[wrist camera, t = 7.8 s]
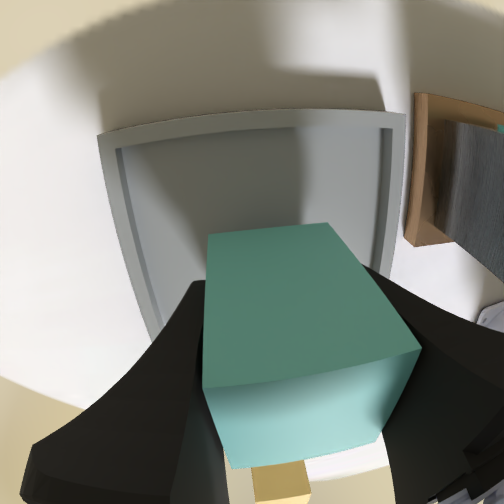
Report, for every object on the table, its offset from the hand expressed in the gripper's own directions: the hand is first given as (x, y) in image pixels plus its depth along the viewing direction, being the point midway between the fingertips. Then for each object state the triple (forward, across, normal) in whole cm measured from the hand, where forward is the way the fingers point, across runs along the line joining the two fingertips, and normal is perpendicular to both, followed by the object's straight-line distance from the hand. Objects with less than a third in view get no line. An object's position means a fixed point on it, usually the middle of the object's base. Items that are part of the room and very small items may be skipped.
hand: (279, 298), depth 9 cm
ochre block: (+4, 0, +19) cm, 19 cm away
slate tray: (+4, 0, 0) cm, 4 cm away
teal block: (+2, 0, 0) cm, 2 cm away
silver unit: (+4, -12, -3) cm, 13 cm away
